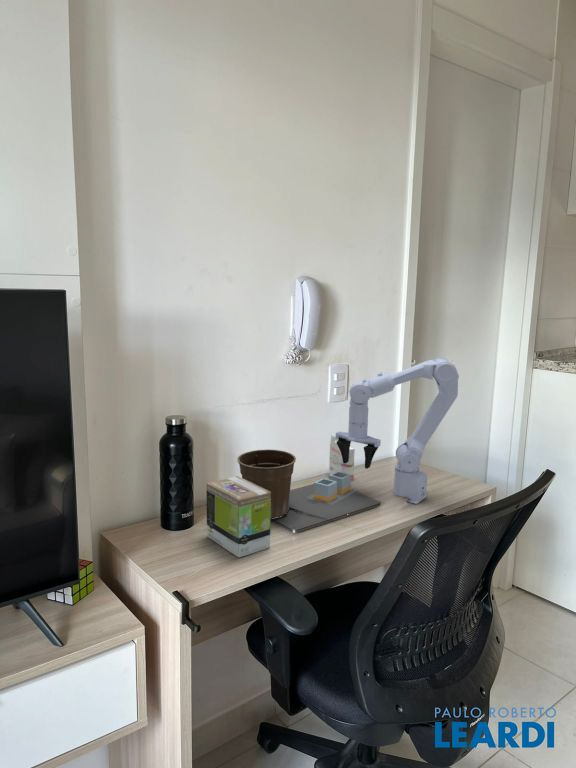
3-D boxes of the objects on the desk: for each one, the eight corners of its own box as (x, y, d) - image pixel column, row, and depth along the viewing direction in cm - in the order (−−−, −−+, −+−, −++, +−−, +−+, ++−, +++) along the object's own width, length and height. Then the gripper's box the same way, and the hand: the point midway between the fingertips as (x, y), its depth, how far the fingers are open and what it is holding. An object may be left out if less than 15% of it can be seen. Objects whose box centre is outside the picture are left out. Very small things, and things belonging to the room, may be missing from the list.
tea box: (271, 547, 143) (272, 491, 140) (237, 559, 137) (237, 500, 134) (237, 526, 154) (238, 474, 152) (205, 536, 148) (204, 481, 146)
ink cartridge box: (354, 483, 188) (356, 439, 185) (341, 485, 186) (342, 441, 183) (341, 475, 196) (342, 433, 193) (328, 477, 194) (329, 434, 191)
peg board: (357, 494, 179) (358, 481, 178) (331, 509, 167) (332, 495, 166) (332, 487, 184) (333, 474, 183) (306, 501, 172) (306, 488, 171)
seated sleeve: (350, 489, 179) (351, 474, 178) (342, 494, 175) (342, 478, 174) (336, 486, 182) (337, 471, 181) (328, 490, 178) (328, 475, 177)
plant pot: (247, 528, 154) (247, 470, 151) (230, 505, 169) (230, 452, 166) (303, 519, 160) (305, 463, 157) (282, 498, 175) (283, 447, 172)
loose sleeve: (336, 497, 173) (337, 481, 172) (327, 502, 169) (328, 486, 168) (322, 493, 176) (323, 477, 175) (313, 498, 172) (314, 482, 171)
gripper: (330, 420, 176) (329, 463, 178) (373, 428, 167) (371, 473, 170) (342, 416, 181) (341, 458, 184) (384, 424, 173) (382, 467, 175)
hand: (356, 465), depth 177 cm, fingers open, 7 cm apart
